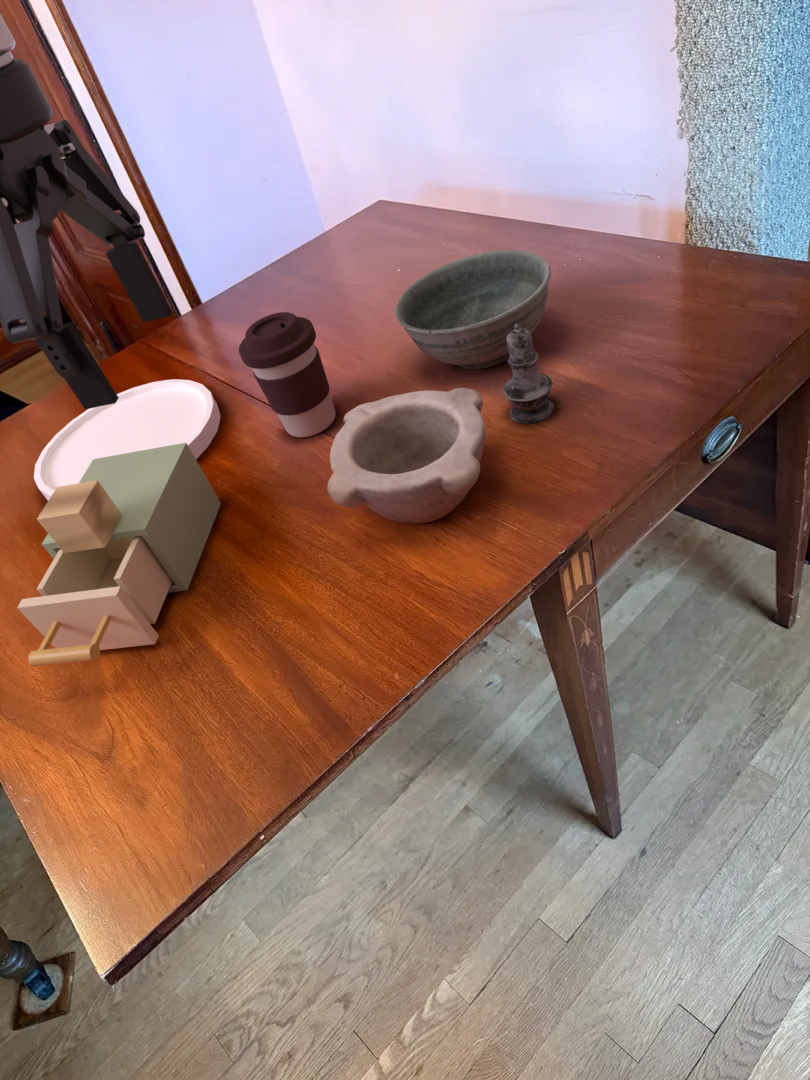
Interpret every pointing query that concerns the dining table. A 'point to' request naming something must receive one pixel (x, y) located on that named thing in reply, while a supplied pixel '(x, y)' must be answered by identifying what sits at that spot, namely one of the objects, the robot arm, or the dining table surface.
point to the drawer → (97, 602)
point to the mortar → (409, 454)
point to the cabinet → (158, 505)
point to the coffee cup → (290, 372)
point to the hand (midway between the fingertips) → (132, 357)
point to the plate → (130, 429)
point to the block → (80, 517)
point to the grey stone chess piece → (526, 380)
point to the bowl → (475, 306)
